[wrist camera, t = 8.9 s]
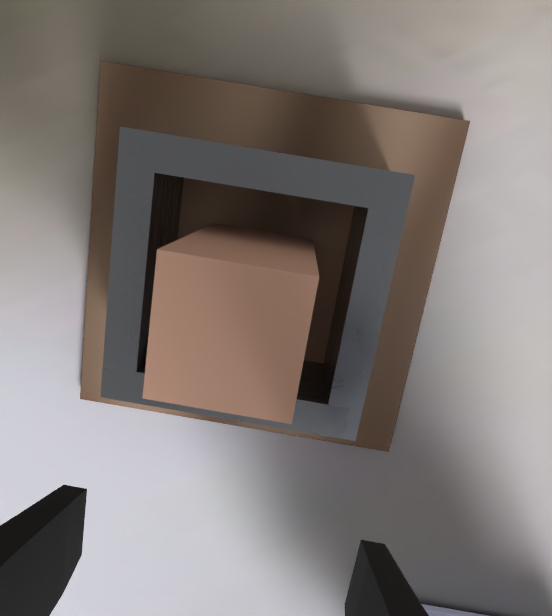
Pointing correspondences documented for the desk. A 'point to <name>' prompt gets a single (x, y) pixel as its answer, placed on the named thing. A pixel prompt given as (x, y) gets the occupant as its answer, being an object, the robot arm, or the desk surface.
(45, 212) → the desk surface
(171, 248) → the peg
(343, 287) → the socket board
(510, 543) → the desk surface
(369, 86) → the desk surface
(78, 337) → the desk surface
